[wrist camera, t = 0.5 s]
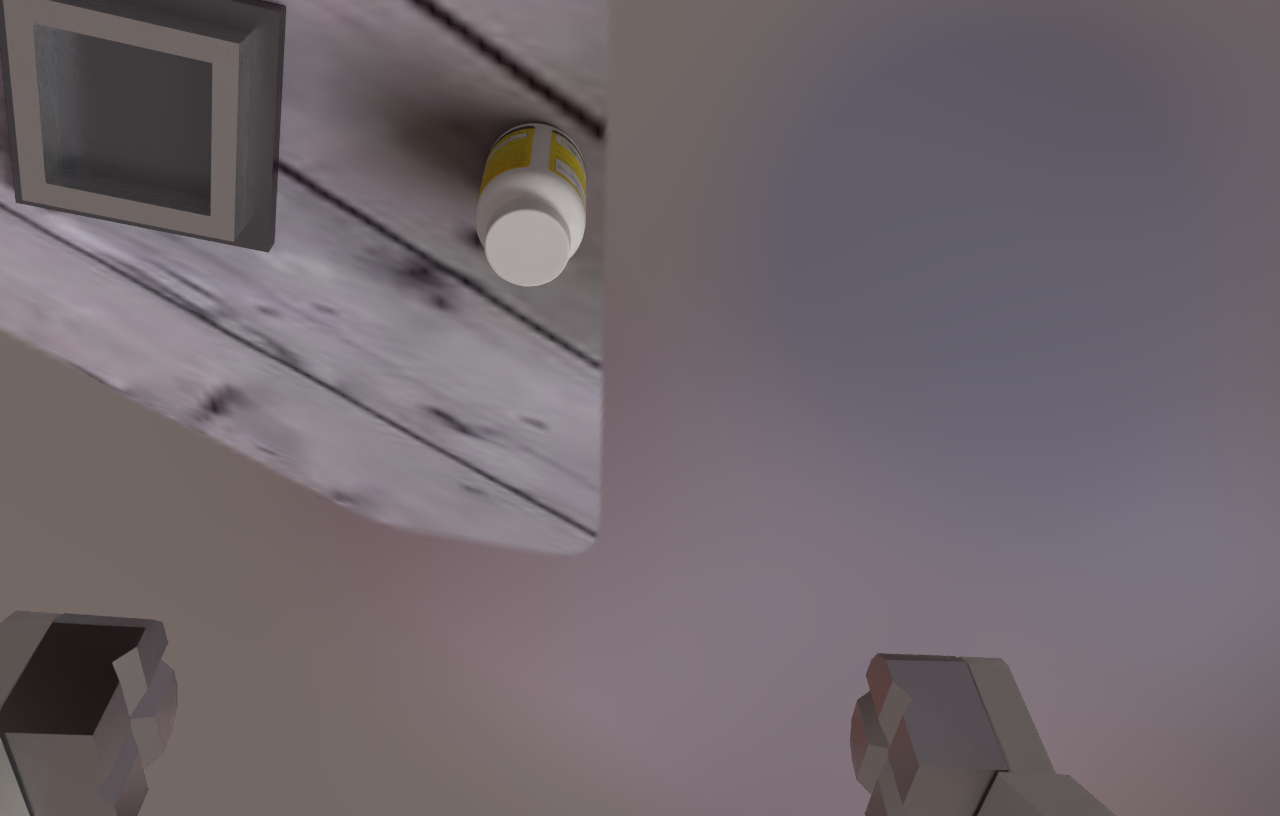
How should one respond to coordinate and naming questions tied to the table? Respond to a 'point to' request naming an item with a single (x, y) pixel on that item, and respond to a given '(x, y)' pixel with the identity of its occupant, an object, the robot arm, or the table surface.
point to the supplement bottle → (532, 204)
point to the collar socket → (148, 112)
